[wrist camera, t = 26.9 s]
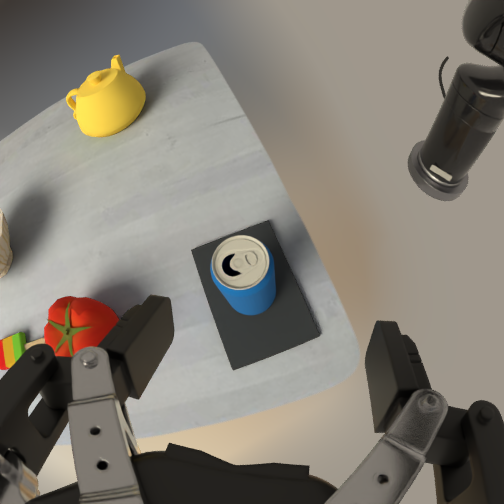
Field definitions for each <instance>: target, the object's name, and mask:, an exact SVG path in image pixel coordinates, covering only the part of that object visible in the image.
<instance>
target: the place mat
mask: <svg viewBox="0 0 504 504" xmlns="http://www.w3.org/2000/svg"><path fill="white" fill-rule="evenodd" d="M238 235H246V236H251V237H253V238H255V239H257V240H259V241H261V242H262V243H263V244H265V245H266V246H267V248H268V249H269V250H270V252H271V254H272V256H273V260H274V270H275V283H276V296H275V299H274V301H273V303H272V305H271V306H270V307H269V308H268V309H267V310H266V311H264V312H262V313H260V314H257V315H244V314H241V313H239V312H237V311H236V310H235V309H234V308H233V307H232V306H231V305H230V303H229V302H228V301H227V299H226V298H225V297H224V295H223V294H222V293H221V291H220V290H219V289H218V287H217V286H216V285H215V283H214V281H213V279H212V276H211V270H210V266H211V260H212V257H213V254H214V252H215V250H216V249H217V247H218V246H219V245H220V244H221V243H222V242H223V241H225V240H226V239H228V238H230V237H233V236H238ZM191 251H192V254H193V257H194V260H195V264H196V267H197V270H198V273H199V276H200V279H201V282H202V285H203V288H204V291H205V294H206V297H207V300H208V303H209V306H210V309H211V312H212V314H213V317H214V320H215V323H216V326H217V329H218V331H219V334H220V337H221V340H222V343H223V345H224V348H225V351H226V353H227V356H228V359H229V362H230V364H231V367H232V369H233V370H236V369H238V368H241V367H244V366H247V365H249V364H252V363H255V362H257V361H260V360H263V359H265V358H268V357H271V356H273V355H276V354H278V353H281V352H283V351H286V350H288V349H291V348H293V347H296V346H298V345H300V344H303V343H305V342H307V341H310V340H312V339H314V338H317V337H319V336H320V335H319V332H318V330H317V328H316V325H315V323H314V321H313V319H312V316H311V314H310V312H309V309H308V307H307V305H306V303H305V300H304V298H303V296H302V293H301V291H300V289H299V287H298V284H297V282H296V280H295V278H294V275H293V273H292V271H291V269H290V267H289V264H288V262H287V260H286V258H285V256H284V253H283V251H282V249H281V247H280V245H279V242H278V240H277V238H276V236H275V234H274V231H273V229H272V227H271V225H270V223H269V221H265V222H263V223H260V224H257V225H255V226H252V227H249V228H247V229H244V230H241V231H239V232H236V233H234V234H231V235H228V236H226V237H223V238H221V239H218V240H216V241H213V242H210V243H208V244H205V245H203V246H200V247H198V248H195V249H193V250H191Z"/></svg>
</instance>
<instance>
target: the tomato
mask: <svg viewBox="0 0 504 504" xmlns="http://www.w3.org/2000/svg"><path fill="white" fill-rule="evenodd" d="M47 320H48V323H47V325H46V326H45V328H44V339H45V342H46V344H48V345H50V346H51V347H52V348H53V350H54V352H55V355H56V356H64V357H73V355H74V354H75V353H76V352H77V351H79V350H80V349H82V348H85V347H90V346H95V347H97V346H98V344H99V343H100V342H101V341H102V340H103V339H104V337H105V336H106V335H107V334H108V333H109V331H110V330H111V329H112V328H113V327H114V326H116V323H117V322H118V321H119V318H118V317H117V315H116V314H115V313H114V311H113V310H112V309H111V308H110V307H108V306H106V305H105V304H103V303H101V302H99V301H96V300H94V299H91V298H87V297H83V298H76V297H72V296H67V297H63V298H60V299H57V301H56V302H55V303H54V304H53V305H52V306H51V307H50V308H49V316H48V319H47Z"/></svg>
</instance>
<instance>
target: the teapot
mask: <svg viewBox="0 0 504 504" xmlns="http://www.w3.org/2000/svg"><path fill="white" fill-rule="evenodd" d="M73 95H77V97H76V103H75V102H74V100H73V99H72V98H71V96H73ZM145 99H146V94H145V91H144V89H143V87H142V86H141V84H140V83H139V82H138V81H137V80H136V79H135V78H133V77H132V76H130V75H129V74H127V73H125V70H124V67H123V64H122V61H121V58H120V55H116V56H114V57H113V58H112V59H111V68H109V69H105V70H102V71H95V72H93V73H92V74H90V75H89V76H88V77H87V79H86V81H85V82H84V83H83V84H82V85H81V86H80V88H77V89H73V90H72V91H70V92H69V94H68V95H67V97H66V102H67V104H68V105H69V106H70V107H71V108H72V109H73V110H74V113H73V116H74V118H75V119H76V120H77V122H78V124H79V127H80V129H81V130H82V132H83V133H84V134H86V135H88V136H92V137H106V136H110V135H113V134H116V133H118V132H120V131H122V130H123V129H125V128H126V127H128V126H129V125H130V124H131V123H132V122H133V121H134V120H135V119H136V118H137V117H138V115H139V114H140V112H141V110H142V108H143V106H144V103H145Z"/></svg>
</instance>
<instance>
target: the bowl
mask: <svg viewBox="0 0 504 504" xmlns="http://www.w3.org/2000/svg"><path fill="white" fill-rule="evenodd" d="M12 259H13V256H12V250H11V248H10V238H9V231H8V224H7V222H6V219H5V217H4V214H3V212H2V210H1V209H0V278H1V277H3V276H4V275H6V273H7V272H8V270H9V268H10V266H11V263H12Z"/></svg>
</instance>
